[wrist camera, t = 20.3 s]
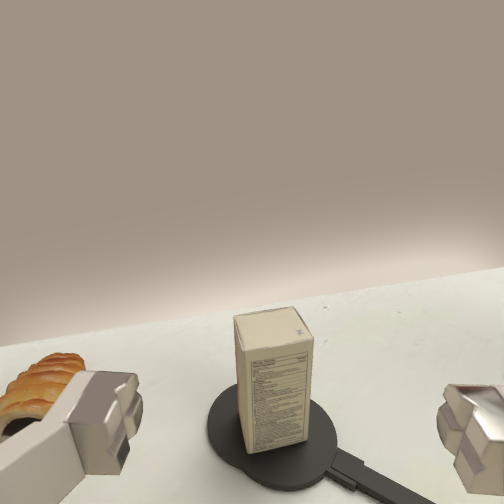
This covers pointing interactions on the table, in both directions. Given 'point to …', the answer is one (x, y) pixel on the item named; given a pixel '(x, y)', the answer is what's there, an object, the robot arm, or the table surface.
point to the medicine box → (273, 377)
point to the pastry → (36, 392)
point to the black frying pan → (299, 456)
